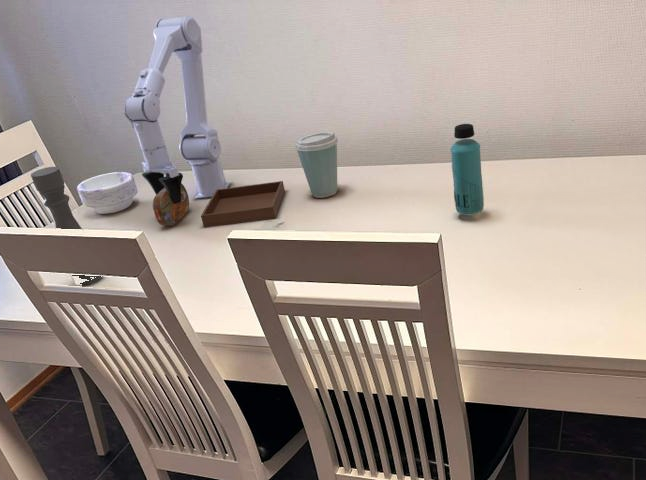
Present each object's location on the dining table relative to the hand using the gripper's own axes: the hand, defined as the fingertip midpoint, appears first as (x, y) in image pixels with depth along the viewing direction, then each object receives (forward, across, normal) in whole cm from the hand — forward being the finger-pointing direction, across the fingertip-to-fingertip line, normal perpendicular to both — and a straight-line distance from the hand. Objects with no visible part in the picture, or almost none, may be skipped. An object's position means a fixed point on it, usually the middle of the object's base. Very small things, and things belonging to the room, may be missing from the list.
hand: (169, 200), depth 179 cm
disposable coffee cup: (+5, +24, +31) cm, 40 cm away
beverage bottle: (+5, +67, +38) cm, 77 cm away
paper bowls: (+5, -26, -5) cm, 27 cm away
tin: (+5, 0, 0) cm, 5 cm away
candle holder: (+6, +13, -30) cm, 34 cm away
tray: (+5, +12, +14) cm, 19 cm away
